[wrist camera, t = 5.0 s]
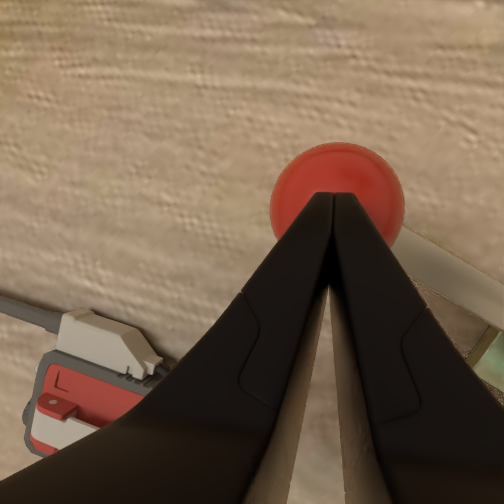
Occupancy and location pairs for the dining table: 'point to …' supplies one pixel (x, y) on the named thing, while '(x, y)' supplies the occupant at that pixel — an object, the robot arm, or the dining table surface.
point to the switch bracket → (489, 358)
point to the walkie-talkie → (83, 375)
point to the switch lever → (384, 222)
